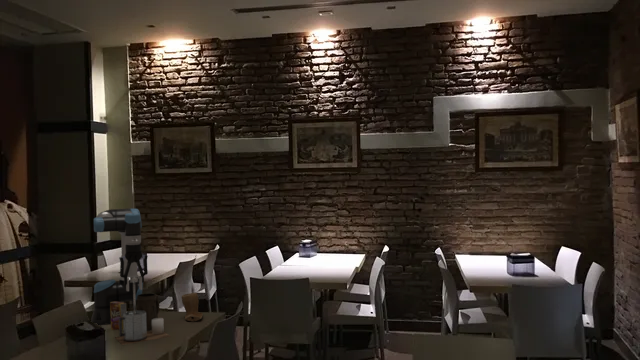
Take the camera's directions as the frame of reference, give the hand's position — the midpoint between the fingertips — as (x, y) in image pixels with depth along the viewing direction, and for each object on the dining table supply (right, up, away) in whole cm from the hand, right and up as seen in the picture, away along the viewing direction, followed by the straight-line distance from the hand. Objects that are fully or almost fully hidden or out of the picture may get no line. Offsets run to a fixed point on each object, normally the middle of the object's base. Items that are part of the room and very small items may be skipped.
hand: (134, 289), depth 280 cm
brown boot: (+19, -26, +44) cm, 54 cm away
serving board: (+3, -26, +3) cm, 26 cm away
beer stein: (+1, -26, +22) cm, 34 cm away
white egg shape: (+9, -24, +10) cm, 28 cm away
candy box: (-16, -27, +22) cm, 38 cm away
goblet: (0, -14, 0) cm, 14 cm away
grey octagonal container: (0, -25, 0) cm, 25 cm away
